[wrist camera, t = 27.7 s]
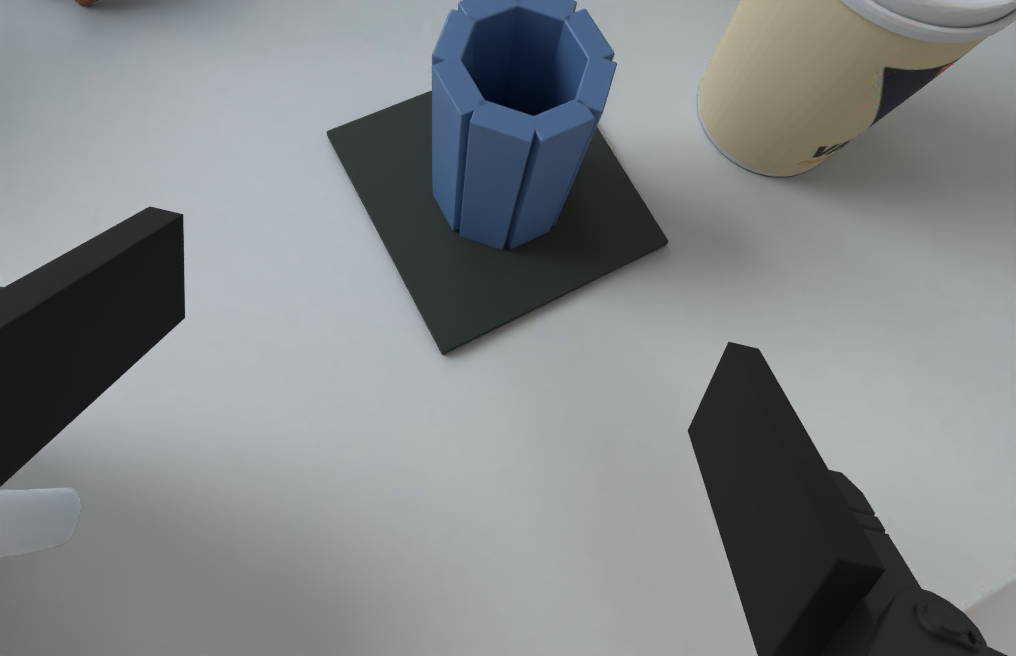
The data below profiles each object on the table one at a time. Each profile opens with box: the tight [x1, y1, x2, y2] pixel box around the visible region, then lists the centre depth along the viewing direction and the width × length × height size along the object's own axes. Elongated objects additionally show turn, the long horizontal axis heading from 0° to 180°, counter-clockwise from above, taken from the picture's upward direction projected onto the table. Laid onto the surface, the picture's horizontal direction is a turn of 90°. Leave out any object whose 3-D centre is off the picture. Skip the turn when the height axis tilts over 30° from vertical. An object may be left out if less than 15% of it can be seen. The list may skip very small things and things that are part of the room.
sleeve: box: [432, 0, 617, 250], centre depth 26 cm, size 6×6×9 cm
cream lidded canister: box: [697, 0, 1016, 177], centre depth 28 cm, size 9×9×12 cm
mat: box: [327, 91, 668, 355], centre depth 30 cm, size 12×12×1 cm
